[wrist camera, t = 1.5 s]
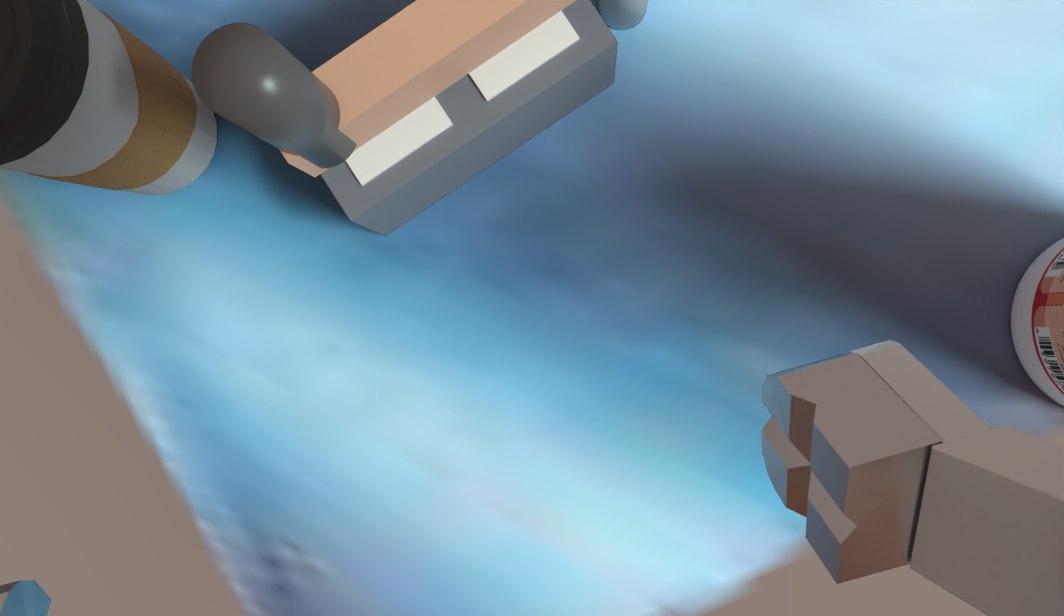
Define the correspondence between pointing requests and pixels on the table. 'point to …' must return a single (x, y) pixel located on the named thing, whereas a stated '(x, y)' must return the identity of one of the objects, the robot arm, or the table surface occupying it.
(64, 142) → the coffee cup
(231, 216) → the table surface
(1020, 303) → the fruit juice
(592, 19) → the box
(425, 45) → the swing arm
